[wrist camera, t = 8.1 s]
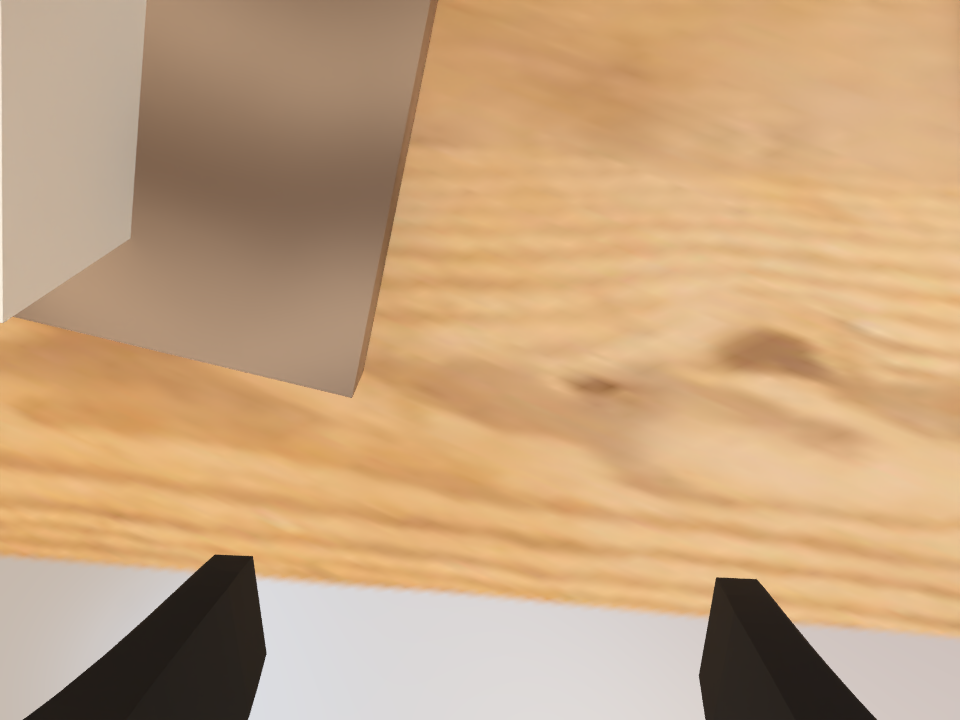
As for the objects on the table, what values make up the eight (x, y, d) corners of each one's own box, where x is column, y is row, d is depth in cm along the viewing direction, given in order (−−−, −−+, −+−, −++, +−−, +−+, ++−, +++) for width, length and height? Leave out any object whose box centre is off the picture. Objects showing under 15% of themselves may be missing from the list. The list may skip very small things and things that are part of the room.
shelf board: (-232, -276, 16) (-303, -299, 15) (455, -88, 17) (449, -93, 15) (-170, 242, 21) (-219, 261, 19) (363, 370, 21) (351, 398, 20)
